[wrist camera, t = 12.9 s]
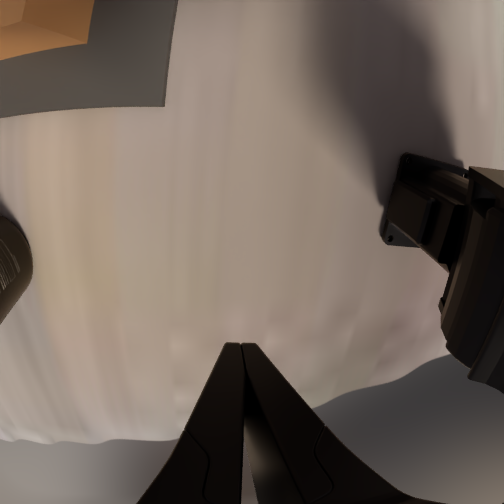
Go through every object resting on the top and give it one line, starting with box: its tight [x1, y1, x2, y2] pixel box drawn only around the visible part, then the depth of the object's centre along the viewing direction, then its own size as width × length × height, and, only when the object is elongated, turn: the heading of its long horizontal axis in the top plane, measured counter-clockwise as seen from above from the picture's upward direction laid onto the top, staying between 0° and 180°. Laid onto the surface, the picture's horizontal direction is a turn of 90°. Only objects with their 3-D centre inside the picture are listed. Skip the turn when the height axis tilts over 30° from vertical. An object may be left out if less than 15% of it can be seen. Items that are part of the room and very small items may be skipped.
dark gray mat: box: [0, 0, 178, 118], centre depth 12 cm, size 16×14×1 cm
